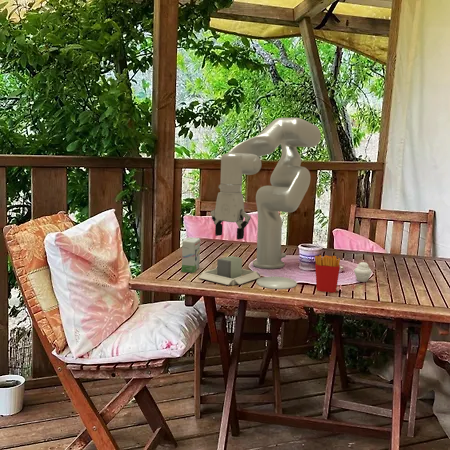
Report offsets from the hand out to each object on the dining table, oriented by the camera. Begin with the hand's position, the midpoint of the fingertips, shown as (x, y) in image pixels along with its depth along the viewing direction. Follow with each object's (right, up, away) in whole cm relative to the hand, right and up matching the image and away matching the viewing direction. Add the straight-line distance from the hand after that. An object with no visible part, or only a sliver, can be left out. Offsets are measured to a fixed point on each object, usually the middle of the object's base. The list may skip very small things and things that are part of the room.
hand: (229, 237), depth 189 cm
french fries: (+32, -18, -11) cm, 38 cm away
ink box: (-15, -13, +13) cm, 24 cm away
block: (0, -15, +3) cm, 15 cm away
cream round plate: (+16, -16, -4) cm, 23 cm away
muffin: (+48, -16, +2) cm, 51 cm away
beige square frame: (0, -15, +3) cm, 15 cm away
